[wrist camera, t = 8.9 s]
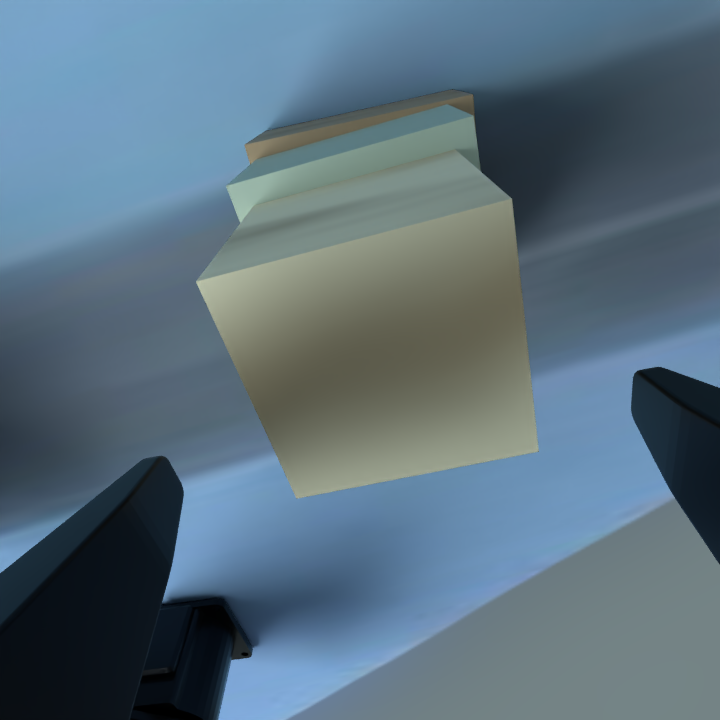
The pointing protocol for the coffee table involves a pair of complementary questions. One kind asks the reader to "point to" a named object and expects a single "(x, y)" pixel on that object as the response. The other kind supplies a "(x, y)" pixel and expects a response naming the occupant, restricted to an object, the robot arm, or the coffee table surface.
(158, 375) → the coffee table surface
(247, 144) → the walnut base block
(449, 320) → the birch cube
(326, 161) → the grey-green middle block
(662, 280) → the coffee table surface
